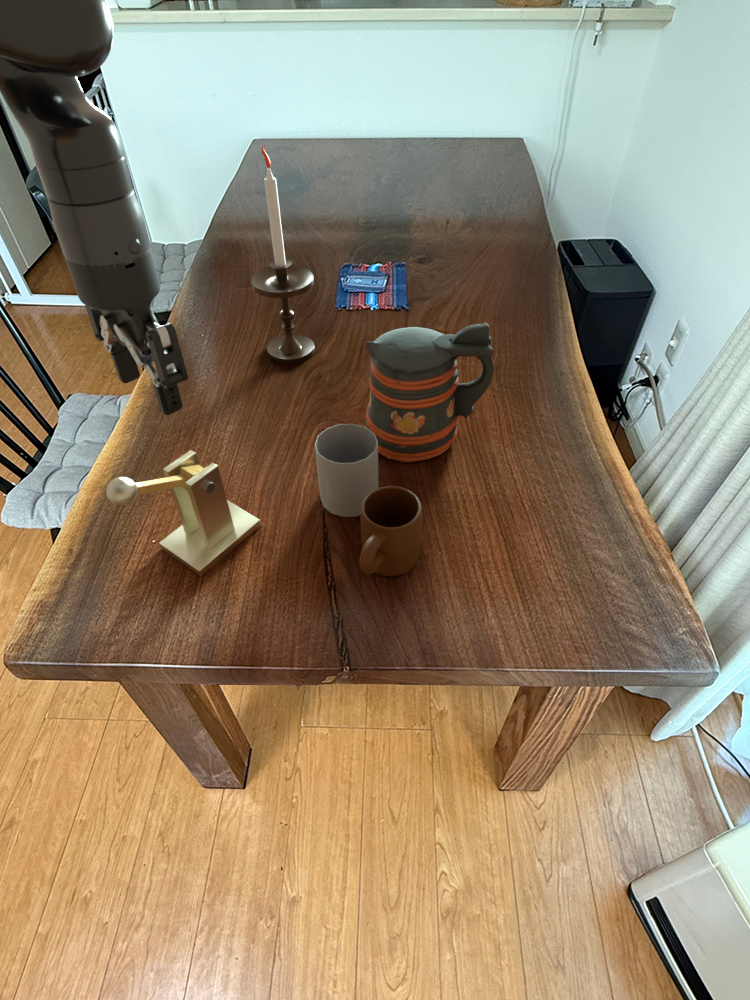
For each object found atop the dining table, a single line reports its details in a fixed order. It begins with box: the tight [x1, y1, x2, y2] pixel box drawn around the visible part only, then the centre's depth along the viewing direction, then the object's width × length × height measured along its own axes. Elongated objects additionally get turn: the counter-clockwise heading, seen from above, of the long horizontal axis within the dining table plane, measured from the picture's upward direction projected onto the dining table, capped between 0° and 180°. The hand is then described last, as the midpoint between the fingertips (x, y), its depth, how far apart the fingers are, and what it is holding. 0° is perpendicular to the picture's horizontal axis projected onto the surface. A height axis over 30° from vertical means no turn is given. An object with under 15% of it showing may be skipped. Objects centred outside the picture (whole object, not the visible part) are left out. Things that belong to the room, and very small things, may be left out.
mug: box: [359, 485, 423, 577], centre depth 74 cm, size 12×8×9 cm, turn 156°
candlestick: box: [250, 145, 316, 364], centre depth 102 cm, size 11×11×35 cm
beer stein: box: [364, 322, 495, 463], centre depth 90 cm, size 19×15×20 cm
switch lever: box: [106, 464, 206, 507], centre depth 69 cm, size 13×3×3 cm, turn 143°
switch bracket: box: [158, 449, 262, 577], centre depth 77 cm, size 11×8×13 cm
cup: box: [314, 423, 379, 518], centre depth 83 cm, size 8×8×10 cm
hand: (151, 395), depth 66 cm, fingers open, 8 cm apart
